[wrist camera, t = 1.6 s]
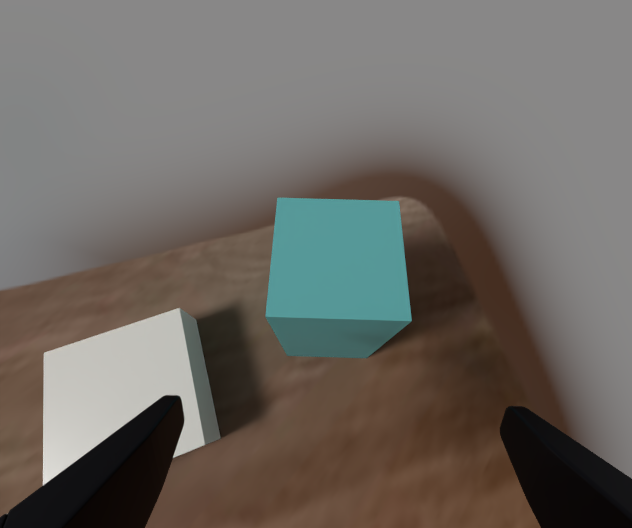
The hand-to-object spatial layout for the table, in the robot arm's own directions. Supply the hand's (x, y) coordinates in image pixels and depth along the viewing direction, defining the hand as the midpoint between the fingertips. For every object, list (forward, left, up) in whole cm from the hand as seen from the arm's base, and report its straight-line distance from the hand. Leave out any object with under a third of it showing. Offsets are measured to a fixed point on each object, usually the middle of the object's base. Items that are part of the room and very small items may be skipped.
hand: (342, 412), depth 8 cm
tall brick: (+5, -3, -12) cm, 14 cm away
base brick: (+6, +10, -12) cm, 17 cm away
